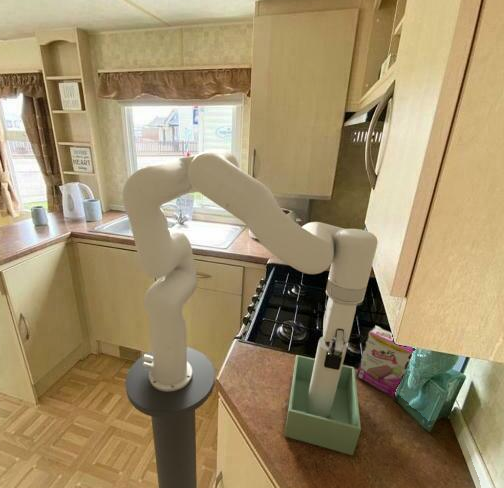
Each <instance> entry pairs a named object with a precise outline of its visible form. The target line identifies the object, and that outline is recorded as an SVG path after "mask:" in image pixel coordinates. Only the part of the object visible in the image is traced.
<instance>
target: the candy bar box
mask: <svg viewBox="0 0 504 488" xmlns="http://www.w3.org/2000/svg"><path fill="white" fill-rule="evenodd" d="M392 333H393V332H391V331H389V330H387V329H385V328H383V327H380V326H378V325H375V326H374V327H373V328H372V329H370V330H369V332H368V334H367V337H366V341H365V344H364V348H363V352H362V355H361V359H360V362H359V365H358V369H357V371H356V375H355V378H358V379H359V380H361V381H364V382H365V383H367V384H369V385H370V386H372V387H373V388H375V389H377V390H378V391H380V392H382V393H385V394H386V395H387V396H389V397H391V398H393V399H396V398H397V396H395V392H396V389H397V387H398V385H399V384H400V382H401V381H402V379H403V376H404V374H405V371H406V369H407V367H408V365H409V362H410V359H411V357H412V353H413V351H415V350H416V349H415V348H411V347H404V346H399V345H396V344H394V342H393V337H392ZM416 351H417V350H416Z"/></svg>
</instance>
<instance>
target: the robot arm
mask: <svg viewBox="0 0 504 488" xmlns="http://www.w3.org/2000/svg"><path fill="white" fill-rule="evenodd" d="M193 193H200V194H201V195H203V196H204V197H205V198H206V199H208V200H210V201H211V202H213V203H214V204H216V205H218V206H219V207H220V208H222V209H223V210H225V211H226V212H228V213H230V214H231V215H232V216H233V217H235V218H237V219H238V220H240V221H241V222H242V223H244V225H245V226H246V227H247V228H248V230H249V231H250V232H251V234H252V235H253V236H254V237H255V238H256V239H257V240H258V241H259V243H261V245H262V246H263V247H265V249H266V250H267V251H269V252H270V253H271V254H272V255H273V256H275V257H276V258H278V259H279V260H281V261H282V262H283V263H285V264H287V265H288V266H290V267H292V268H293V269H295V270H296V271H298V272H301V273H303V274H307V275H317V274H322V273H323V272H325V271H326V270H327V269H329V273H328V278H327V284H326V289H325V294H326V296H327V297H328V299H327V302H326V307H325V311H324V315H323V323H322V324H323V325H322V328H323V329H322V337H323V339H324V341H325V342H329V349H328V351H327V352H326V357H325V362H324V367H326V368H331V369H335V370H339V368H340V364H341V360H342V353H343V346H344V345H346V346H347V345H348V343H349V340H350V336H351V333H352V329H353V324H354V319H355V315H356V310H357V305H359V304H361V303H362V302H363V301H364V299H365V295H366V292H367V289H368V288H367V287H368V283H369V280H370V275H371V272H372V267H373V264H374V261H375V256H376V252H377V249H378V243H379V242H378V241H379V240H378V238H377V236H376V235H375V234H374V233H373V232H370V231H368V230H364V229H360V228H344V227H340V226H335V225H332V224H329V223H325V222H320V221H311V222H307V223H305V224H304V225H300V224H298V223H297V222H296V221H294V220H293V219H292V218H290V217H289V215H288V214H286V213H285V212H284V211H283V209H282V208H281V206H280V205H279V204H278V202H277V200H276V198H275V195H274V194H273V192H272V191H271V189H270V188H269V186H267V185H265V183H263V182H261V181H259V180H257V179H256V178H255V177H253V176H252V175H250V174H249V173H248V172H246V171H244V170H243V169H241V168H240V166H239V162H238V160H237V158H236V156H235V155H234V154H233V153H231V152H230V151H229V150H227V149H223V148H216V149H211V150H206V151H203V152H200V153H197V154H193V155H189V156H185V157H179V158H175V159H170V160H166V161H161V162H157V163H152V164H149V165H146V166H144V167H141V168H139V169H137V170H136V171H134V172H133V173H132V174H131V175H130V176H129V177H128V179H127V180H126V181H125V183H124V186H123V189H122V204H123V206H124V210H125V213H126V215H127V218H128V221H129V225H130V228H131V231H132V237H133V240H134V244H135V245H134V246H135V249H136V253H137V256H138V257H137V258H138V261H139V265H140V267H141V269H142V271H143V273H144V274H145V275H146V276H147V277H149V278H151V279H156V280H155V281H154V282H153V283H152V284H151V285H150V286H149V288H148V289H147V290H146V292H145V294H144V297H143V306H144V310H145V313H146V315H147V319H148V324H149V330H150V331H149V333H150V339H151V340H150V342H151V351H152V354H153V357H151V356H148V355H145V354H143V355H144V357H143V361H145V362H150V363H151V364H149V363H145V362H144V363H143V367H145V368H149V369H150V372H149V380H150V383H151V384H152V386H153V387H155V388H156V389H158V390H161V391H166V392H170V391H176V390H179V389H181V388H183V387H185V386H186V385H187V384H188V383H189V382H190V380H191V378H192V367H191V365H190V364H189V363H188V362H187V350H186V347H187V325H186V320H185V318H184V316H183V312H182V310H183V308H184V305H185V304H186V303H187V301H188V300H189V299H190V298H191V297H192V296H193V294H194V293H195V291H196V289H197V288H198V287H197V286H198V276H197V270H196V263H195V258H194V254H193V247H192V244H191V242H190V240H189V239H188V237H187V236H186V235H185V233H184V232H182V231H181V230H179V229H176V228H170V227H169V221H168V218H167V216H166V214H165V212H164V210H163V209H162V208H161V207H162V206H163V205H164V204H165V205H166V204H167V203H169V202H172V201H174V200H176V199H178V198H180V197H182V196H184V195H189V194H193ZM334 337H336V341H335V340H332V339H333V338H334ZM332 343H335V348H334V349H332Z"/></svg>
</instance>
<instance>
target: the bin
mask: <svg viewBox="0 0 504 488" xmlns="http://www.w3.org/2000/svg"><path fill="white" fill-rule="evenodd" d="M314 362H315V358H312V357H308V356H304V355H298V354H296V355H295V361H294V366H293V372H292V379H291V386H290V394H289V399H288V400H289V401H288V409H287V415H286V416H287V417H286V424H285V430H284V437H285V438H289V439H292V440H296V441H299V442H300V441H301V442H304V443H308V444H311V445H314V446H318V447H322V448H325V449H328V450H333V451H336V452H339V453H343V454H346V455H350V456H354V453H355V450H356V448H357V444H358V440H359V437H360V434H361V430H362V427H361V416H360V407H359V406H360V405H359V398H358V389H357V380H356V378H357V377H356V371H355V367H354V366H350V365H346V364H343V365H342V369H341V373H340V377H339V381H338V385H337V389H336V393H335V397H334V401H333V405H332V409H331V412H330V415H329V416H328V417H327V418H323V417H319V416H315V415H312V414H310V413H309V412H308V410H307V408H306V402H307V397H308V392H309V387H310V382H311V377H312V372H313V367H314Z"/></svg>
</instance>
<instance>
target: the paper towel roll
mask: <svg viewBox="0 0 504 488" xmlns="http://www.w3.org/2000/svg"><path fill="white" fill-rule="evenodd" d="M332 340H335V341H336V337H334V338H333V339H332ZM334 348H335V343H332V349H334ZM328 349H329V342H325V341H324V339H323V336H321V337H319V340H318V343H317V348H316V353H315V357H314V359H315V362H314V367H313V372H312V377H311V382H310V387H309V392H308V397H307V402H306V408H307V410H308V412H309V413H310V414H312V415H315V416H319V417H323V418H327V417H328V416H329V415H330V412H331V409H332V405H333V401H334V397H335V393H336V389H337V385H338V381H339V377H340V373H341V369H342V365H344V361H345V358H346V354H347V351H348V345H347V344H346V345H344V346H343V353H342V360H341V364H340V368H339V370H335V369H331V368H326V367H324V362H325V357H326V352H327V351H328Z"/></svg>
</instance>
